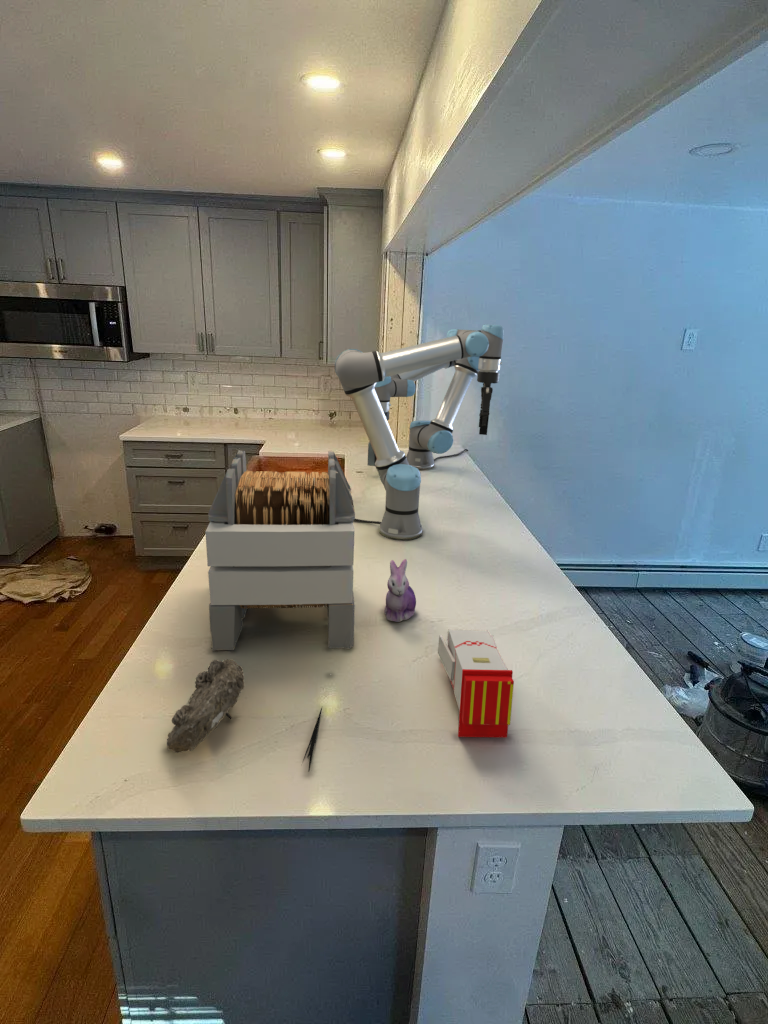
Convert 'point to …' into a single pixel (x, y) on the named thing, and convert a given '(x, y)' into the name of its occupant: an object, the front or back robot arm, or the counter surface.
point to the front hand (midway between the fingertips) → (482, 430)
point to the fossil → (206, 705)
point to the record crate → (281, 548)
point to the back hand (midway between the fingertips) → (378, 461)
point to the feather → (313, 740)
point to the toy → (478, 682)
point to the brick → (371, 455)
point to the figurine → (399, 594)
